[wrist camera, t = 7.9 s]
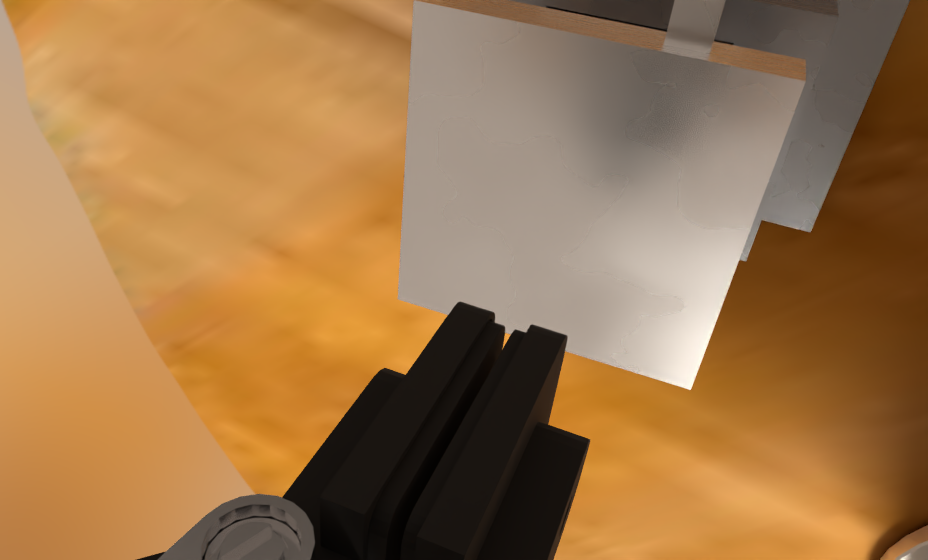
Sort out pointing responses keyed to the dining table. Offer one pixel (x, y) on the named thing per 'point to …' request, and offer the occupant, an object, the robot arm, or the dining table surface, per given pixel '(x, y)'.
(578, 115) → the grey flanged block
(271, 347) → the dining table surface
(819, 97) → the tester
